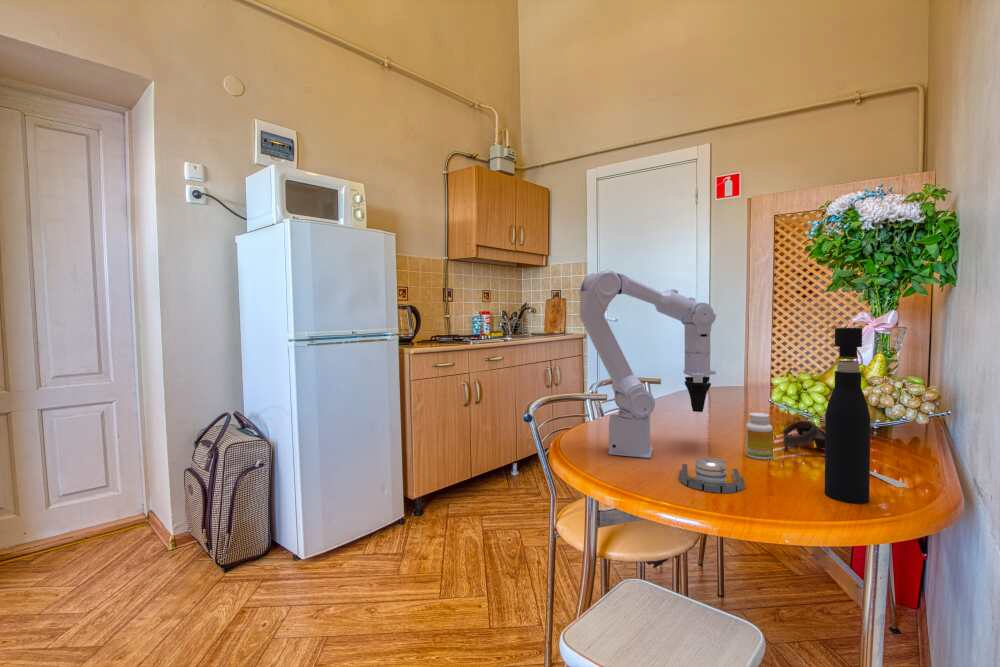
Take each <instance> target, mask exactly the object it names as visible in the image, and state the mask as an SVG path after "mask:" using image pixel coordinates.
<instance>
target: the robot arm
mask: <svg viewBox="0 0 1000 667" xmlns="http://www.w3.org/2000/svg"><path fill="white" fill-rule="evenodd" d="M578 292H579V295H580V296H579V298H580V301H579V319H580V321H581V323H582V324H583V326H584V329H585V331H586V332H587V334H588V336H589V338H590V341H591V342H592V344H593V346H594V348H595V350H596V352H597V353H598V356H599V358H600V360H601V362H602V364H603V366H604V367H605V369H606V372H607V373H608V375H609V377H610V380H611V382H612V384H611V389H612V391H613V393H614V402H615V405H616V406H617V407H618V413H617V414H610V415H609V419H608V455H613V456H622V457H623V456H624V457H634V458H642V459H643V458H645V459H651V457H652V453H653V450H654V447H652V446H651V415H652V413H653V412H654V409H655V405H656V401H655V398H654V395H653V394H652V393H651V392H650V391H648V390H647V389H646V388H645V386H644V385H643V383H642V382H641V380H640V379H638V377H636V376H635V374H634V372H633V370H632V368H631V366H630V364H629V362H628V361H627V358H626V356H625V354H624V353H623V350H622V348H621V347H620V344H619V343H618V340H617V338H616V336H615V334H614V333H613V331H612V329H611V326H610V325H609V323H608V319H606V317H605V314H606V312H607V310H608V307H609V305H610V303H611V302H612V301H613V299H614V298H615V297H616V296H618V295H626V296H629V297H632V298H635V299H638V300H640V301H643V302H645V303H649V304H651V305H654V307H655V310H656V312H658V313H660V314H662V315H665V316H667V317H670V318H672V319H674V320H677V321H680V322H681V323H682V325H683V326H684V370H683V374H684V375H687V376H685V377H684V380H685V381H684V386H685V387H686V389H687V391H688V394H689V399H690V404H691V410H692V412H697V413H703V412H704V408H705V404H706V397H707V394H708V392H709V389H710V387H711V386H712V383H711V382H709V380H710V376H711V375H716V374H717V372H716V370H711V332H712V325H713V324H714V323H715V321H716V318H717V314H716V313H714V309H713V308H712V306H711V305H710V303H706V302H697V301H696V298H695V297H692V296H691V297H687V296H685V295H683V294H679V290H677V289H675V288H674V289H673V288H672V289H666V290H663V291H659V290H656V289H655V288H653V287H651V286H648V285H646V284H644V283H642V282H639V280H636V279H634V278H632V277H630V276H627V275H625V274H623V273H619V272H615V271H613V270H610V269H609V270H608V269H604V270H602V271H600V272H596V273H590V274H588V275H587V276H586V277H585V278H583V279H582V283H581V285H580V287H579V289H578Z"/></svg>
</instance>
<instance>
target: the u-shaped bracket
mask: <svg viewBox="0 0 1000 667" xmlns="http://www.w3.org/2000/svg"><path fill="white" fill-rule="evenodd" d="M731 474H732V478H733V481H732V482H729V483H728V482H726V484H714V483H705V482H701V481H698V480H696V479H694V478H693V477H691V476H690V475H688V464H687V463H682V464H681V469H680V470H679V474H678V481H679V480H680V481H679V482H680V483H681V482H682V483H681V484H683V485H684V484H685V485H684V486H686V487H688V488H690V487H691V488H690V489H693V488H695V489H694V490H697V489H698V490H697V491H700V490H703V492H704V491H707V492H706V493H712V492H715V494H732V493H733V494H734V493H735V494H736V493H739V492H740V490H741V491H742V490H744V489H745V486H746V482H745V478H744V477H743V476H741V475H740V472H739V469H738V468H732V469H731Z"/></svg>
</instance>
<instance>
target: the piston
mask: <svg viewBox="0 0 1000 667" xmlns="http://www.w3.org/2000/svg"><path fill="white" fill-rule="evenodd" d="M695 480H698V481H701V482H705V483H714V484H726V483H727V462H726V461H725V460H723V459H721V458H716V457H710V456H701V457H696V458H695Z"/></svg>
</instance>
